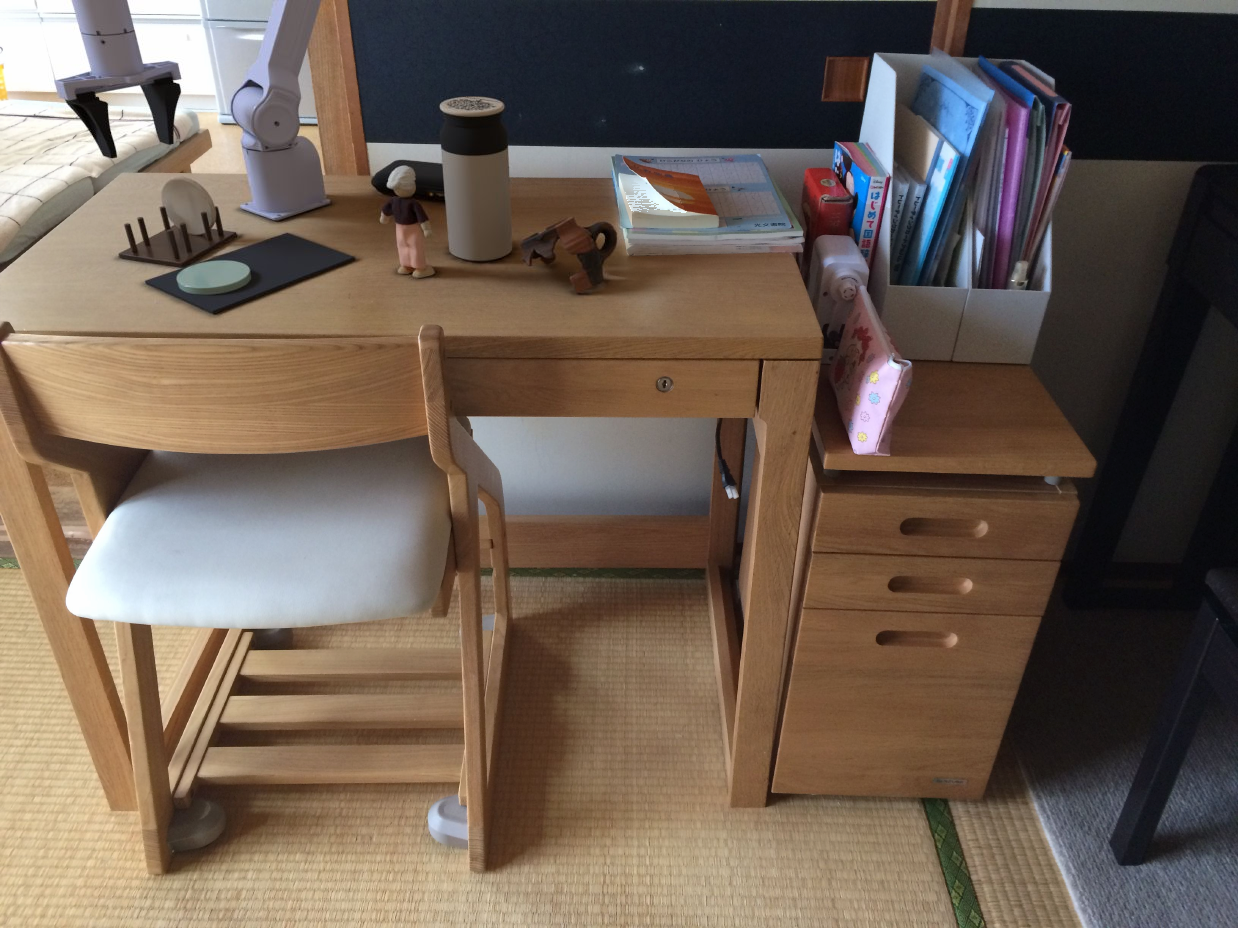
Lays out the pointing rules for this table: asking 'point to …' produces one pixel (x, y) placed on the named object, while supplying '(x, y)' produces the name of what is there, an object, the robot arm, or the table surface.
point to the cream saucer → (188, 204)
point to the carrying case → (426, 178)
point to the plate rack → (175, 242)
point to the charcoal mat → (260, 270)
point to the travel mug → (476, 178)
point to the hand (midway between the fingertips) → (139, 149)
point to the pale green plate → (214, 277)
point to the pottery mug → (574, 249)
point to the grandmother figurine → (408, 222)
